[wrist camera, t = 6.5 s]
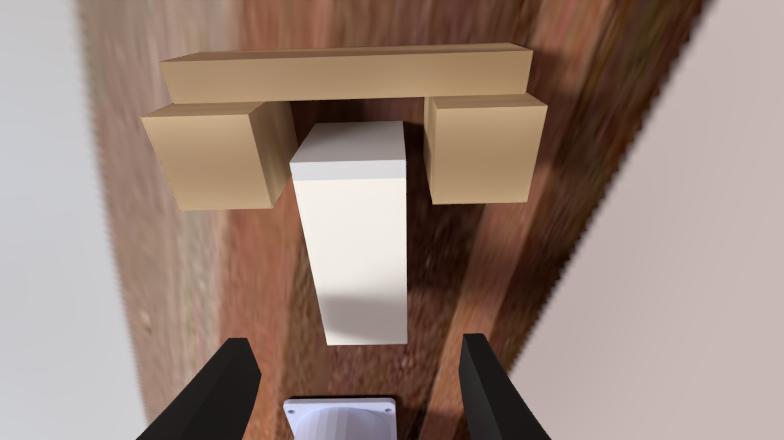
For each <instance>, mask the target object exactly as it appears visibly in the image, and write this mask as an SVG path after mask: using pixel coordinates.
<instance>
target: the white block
mask: <svg viewBox="0 0 784 440" xmlns="http://www.w3.org/2000/svg"><path fill="white" fill-rule="evenodd" d="M289 164H290V168H291V173H292V178H293V183H294V187H295V192H296V197H297V202H298V207H299V211H300V216H301V221H302V226H303V230H304V235H305V240H306V245H307V250H308V254H309V259H310V264H311V269H312V273H313V278H314V283H315V288H316V292H317V297H318V302H319V307H320V312H321V316H322V321H323V326H324V331H325V335H326V340H327V345H364V344H407V258H406V155H405V144H404V132H403V121H380V122H345V123H315V125H314V126H313V128H312V129H311V131H310V132H309V134H308V135H307V137H306V138H305V140H304V141H303V143H302V144H301V146H300V147H299V149H298V150H297V152H296V153H295V155H294V156H293V158H292V159H291V161H290V162H289Z"/></svg>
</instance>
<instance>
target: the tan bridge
mask: <svg viewBox="0 0 784 440" xmlns="http://www.w3.org/2000/svg"><path fill="white" fill-rule="evenodd" d="M532 55H533V50H530V49H527V48H524V47H521V46H517V45H514V44H511V43H480V44H448V45H416V46H384V47H353V48H321V49H289V50H257V51H226V52H199V53H195V54H190V55H186V56H182V57H178V58H174V59H169V60H165V61H161V62H159V65H160V68H161V71H162V73H163V76H164V79H165V81H166V84H167V87H168V89H169V92H170V95H171V97H172V100H173V103H172V104H170V105H168V106H165V107H163V108H161V109H159V110H156V111H154V112H152V113H149V114H147V115H145V116H143V117H140V118H141V120H142V122H143V125H144V127H145V129H146V132H147V134H148V136H149V138H150V141H151V143H152V145H153V148H154V150H155V152H156V155H157V157H158V159H159V161H160V164H161V166H162V168H163V171H164V173H165V175H166V178H167V180H168V182H169V184H170V187H171V189H172V191H173V194H174V196H175V198H176V201H177V203H178V205H179V208H180V210H215V209H257V208H273V206H274V204H275V203H276V201H277V199H278V198H279V196H280V194H281V193H282V191H283V189H284V188H285V186H286V184H287V183H288V181H289V179H290V178H291V176H292V173H291V168H290V164H289V162H290V161H291V159H292V158H293V156H294V155H295V153H296V152H297V150H298V149H299V148H298V142H297V137H296V132H295V126H294V121H293V116H292V110H291V105H290V101H294V100H329V99H363V98H398V97H425V103H424V145H423V158H424V163H425V168H426V173H427V178H428V183H429V188H430V192H431V197H432V202H433V204H466V203H508V202H527V199H528V194H529V190H530V185H531V180H532V176H533V171H534V167H535V162H536V158H537V153H538V149H539V144H540V140H541V135H542V130H543V126H544V121H545V117H546V112H547V108H548V106H547V105H546V104H544V103H543V102H541V101H539V100H538V99H536V98H535V97H533V96H532V95H530V94H528V93H527V92H526V88H527V83H528V77H529V72H530V66H531V61H532Z"/></svg>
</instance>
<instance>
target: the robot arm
mask: <svg viewBox="0 0 784 440" xmlns="http://www.w3.org/2000/svg"><path fill="white" fill-rule="evenodd" d="M261 375H262V374H261V372H260V369H259V367H258V364H257V362H256V359H255V357H254V354H253V352H252V349H251V347H250V344H249V342H248V339H247V338H229V339H228V340H226V342H225V343H224V344H223V345H222V346H221V347H220V348H219V350H218V351H217V352H216V353H215V354H214V355H213V356H212V358H211V359H210V360H209V361H208V362H207V363H206V365H205V366H204V367H203V368H202V369H201V370H200V371H199V373H198V374H197V375H196V376H195V377H194V378H193V379H192V381H191V382H190V383H189V384H188V385H187V386H186V387H185V388H184V389H183V390H182V392H181V393H180V394H179V395H178V396H177V397H176V398H175V399H174V400H173V401H172V403H171V404H170V405H169V406H168V407H167V408H166V409H165V410H164V411H163V412H162V413H161V414H160V415H159V416H158V417H157V418H156V419H155V420H154V421H153V422H152V423H151V425H150V426H149V427H148V428H147V429H146V430H145V431H144V432H143V433H142V434H141V435H140V436H139V437H138V438H137V439H136V440H242V438H243V435H244V432H245V430H246V427H247V424H248V421H249V419H250V416H251V413H252V410H253V407H254V404H255V400H256V396H257V392H258V388H259V384H260V379H261ZM459 378H460V386H461V393H462V400H463V406H464V410H465V415H466V419H467V423H468V427H469V432H470V436H471V440H551V438H550V437H549V436H548V434H547V433H546V432H545V430H544V429H543V428H542V426H541V425H540V423H539V422H538V421H537V419H536V418H535V417H534V415H533V414H532V412H531V411H530V409H529V408H528V407H527V405H526V404H525V402H524V401H523V399H522V398H521V396H520V395H519V393H518V391H517V390H516V388H515V387H514V385H513V384H512V382H511V381H510V379H509V377H508V376H507V374H506V373H505V371H504V369H503V368H502V366H501V364H500V363H499V361H498V359H497V357H496V356H495V354H494V352H493V350H492V348H491V347H490V345H489V343H488V341H487V339H486V337H485V335H483V334H482V333H475V334H463V341H462V349H461V356H460V364H459ZM283 408H284V410H285V413H286V416H287V418H288V421H289V423H290V426H291V429H292V431H293V434H294V437H295V438H294V440H397V430H396V406H395V400H394V399H392V398H337V399H288V400H286V401H285V402H284V406H283Z"/></svg>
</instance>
